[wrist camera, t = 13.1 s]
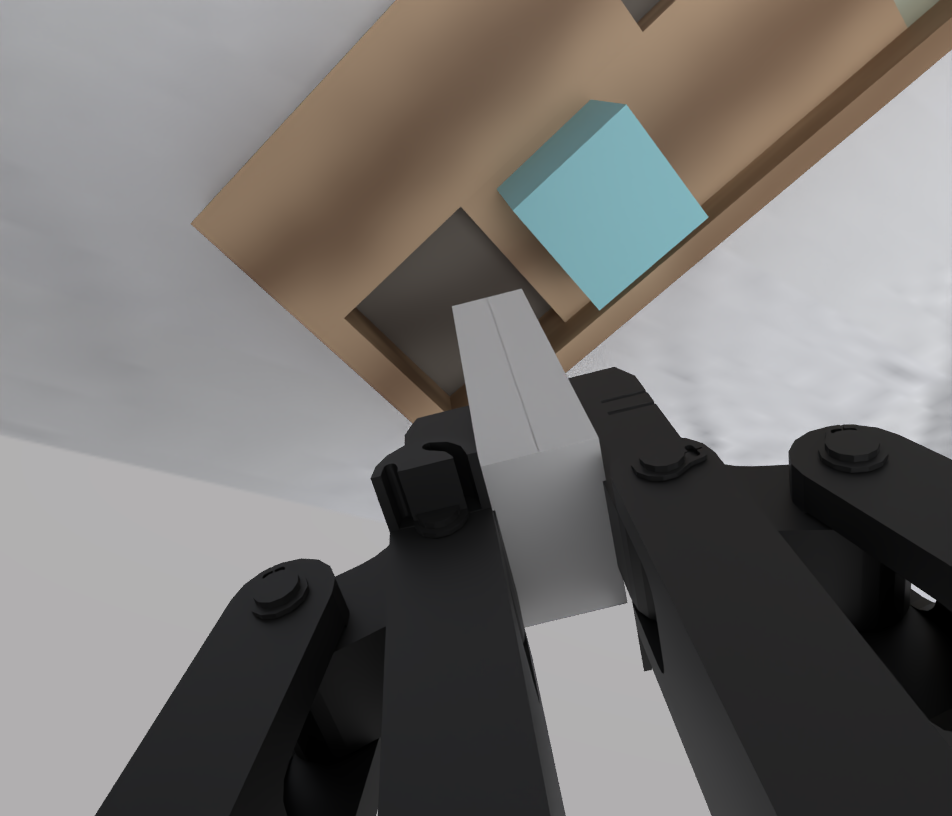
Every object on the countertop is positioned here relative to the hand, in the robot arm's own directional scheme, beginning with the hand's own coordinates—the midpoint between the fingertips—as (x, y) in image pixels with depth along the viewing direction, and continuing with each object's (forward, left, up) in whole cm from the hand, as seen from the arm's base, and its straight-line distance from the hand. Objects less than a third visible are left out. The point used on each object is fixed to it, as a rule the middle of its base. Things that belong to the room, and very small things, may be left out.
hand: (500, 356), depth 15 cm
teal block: (+3, +4, -16) cm, 16 cm away
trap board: (0, +8, -19) cm, 20 cm away
